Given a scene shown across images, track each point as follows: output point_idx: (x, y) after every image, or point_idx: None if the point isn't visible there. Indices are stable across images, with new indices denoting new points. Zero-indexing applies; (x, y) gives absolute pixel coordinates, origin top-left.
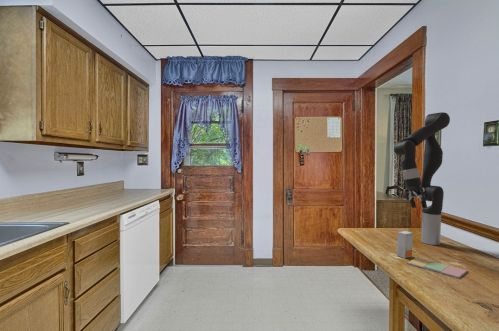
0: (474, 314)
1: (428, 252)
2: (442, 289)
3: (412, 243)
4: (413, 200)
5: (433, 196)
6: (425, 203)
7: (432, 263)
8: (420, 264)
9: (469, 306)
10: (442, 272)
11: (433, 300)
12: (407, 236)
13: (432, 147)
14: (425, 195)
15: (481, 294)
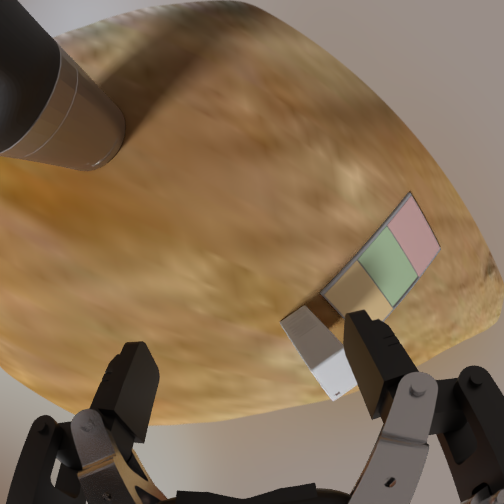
0: (495, 295)
1: (240, 212)
2: (460, 307)
3: (325, 326)
4: (116, 422)
5: None
6: (399, 356)
7: (374, 269)
8: (380, 309)
9: (488, 291)
10: (421, 273)
11: (473, 332)
12: None
13: None
14: (476, 426)
15: (475, 248)
